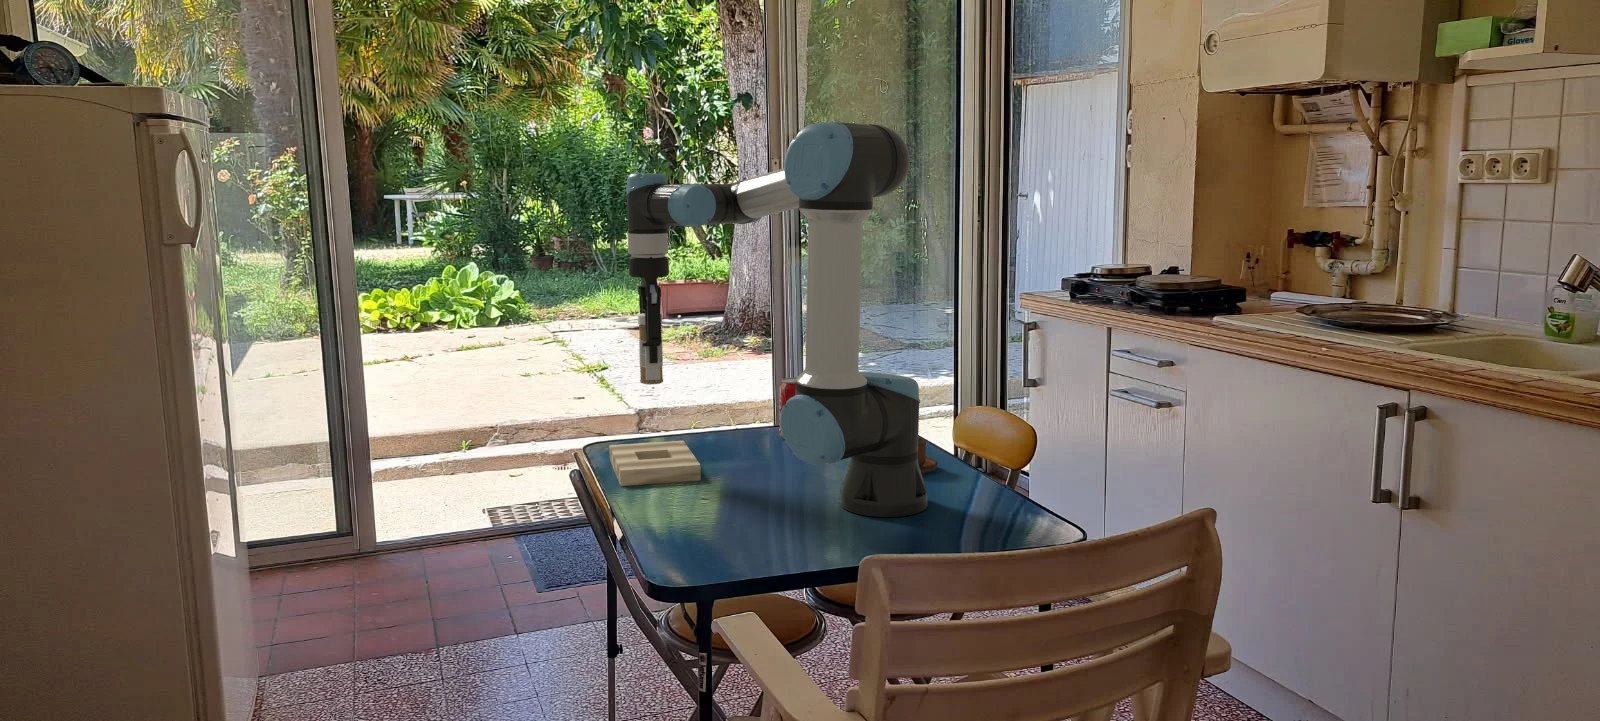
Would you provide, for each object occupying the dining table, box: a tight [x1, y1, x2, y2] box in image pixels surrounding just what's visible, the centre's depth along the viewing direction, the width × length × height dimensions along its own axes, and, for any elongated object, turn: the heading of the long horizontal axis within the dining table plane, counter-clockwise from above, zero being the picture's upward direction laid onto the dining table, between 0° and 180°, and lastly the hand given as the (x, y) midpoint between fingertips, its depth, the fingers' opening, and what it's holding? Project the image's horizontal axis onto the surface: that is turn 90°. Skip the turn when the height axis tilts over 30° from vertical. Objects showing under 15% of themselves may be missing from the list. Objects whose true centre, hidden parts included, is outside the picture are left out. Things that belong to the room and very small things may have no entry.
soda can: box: [778, 376, 798, 440], centre depth 241 cm, size 7×7×13 cm
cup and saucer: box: [918, 437, 938, 475], centre depth 215 cm, size 12×12×6 cm
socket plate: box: [608, 440, 702, 487], centre depth 216 cm, size 20×15×3 cm
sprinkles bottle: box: [637, 313, 664, 386], centre depth 212 cm, size 5×5×14 cm
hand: (651, 377), depth 213 cm, fingers closed on sprinkles bottle, 4 cm apart
